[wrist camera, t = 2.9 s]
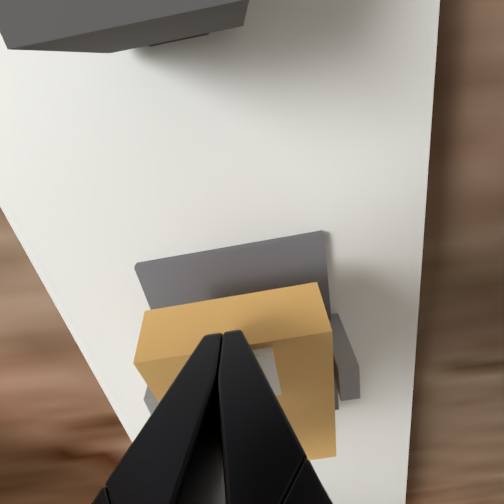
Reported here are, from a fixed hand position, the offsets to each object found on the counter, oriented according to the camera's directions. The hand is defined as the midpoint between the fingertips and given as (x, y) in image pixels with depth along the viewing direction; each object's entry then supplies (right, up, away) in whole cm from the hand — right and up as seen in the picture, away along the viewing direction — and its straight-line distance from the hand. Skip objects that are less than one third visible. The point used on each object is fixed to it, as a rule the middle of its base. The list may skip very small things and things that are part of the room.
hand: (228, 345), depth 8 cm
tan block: (+1, -2, +3) cm, 4 cm away
